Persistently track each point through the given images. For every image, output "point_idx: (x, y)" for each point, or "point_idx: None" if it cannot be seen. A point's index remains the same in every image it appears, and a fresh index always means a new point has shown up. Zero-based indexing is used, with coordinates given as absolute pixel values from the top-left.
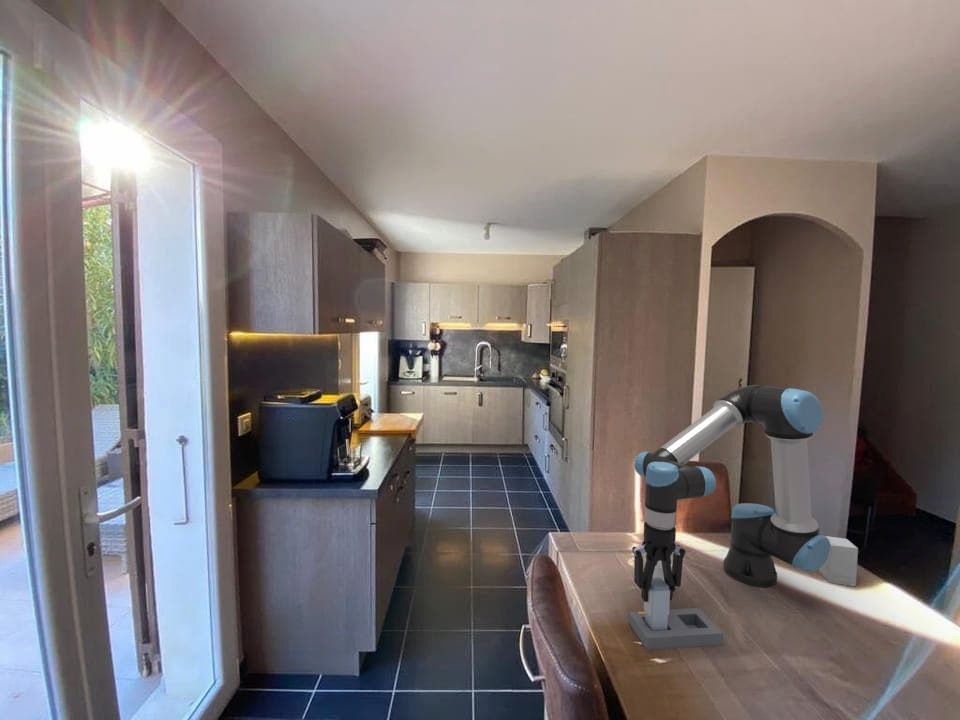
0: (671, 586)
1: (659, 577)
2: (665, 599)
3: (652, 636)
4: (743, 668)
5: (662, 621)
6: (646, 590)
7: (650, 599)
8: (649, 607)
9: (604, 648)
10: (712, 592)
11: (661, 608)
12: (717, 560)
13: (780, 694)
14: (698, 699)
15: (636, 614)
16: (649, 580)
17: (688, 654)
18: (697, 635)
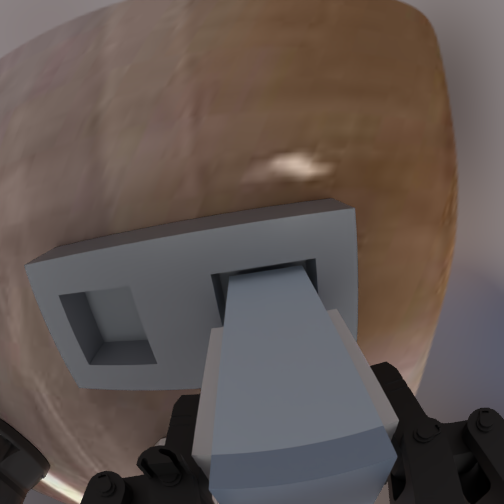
0: (173, 484)
1: None
2: (245, 386)
3: (326, 220)
4: (32, 166)
5: (256, 295)
6: (425, 418)
7: (364, 374)
8: (350, 337)
9: (448, 220)
10: (61, 431)
11: (272, 337)
12: (59, 477)
13: (5, 93)
14: (227, 11)
15: None
16: (440, 499)
17: (167, 205)
18: (105, 247)
